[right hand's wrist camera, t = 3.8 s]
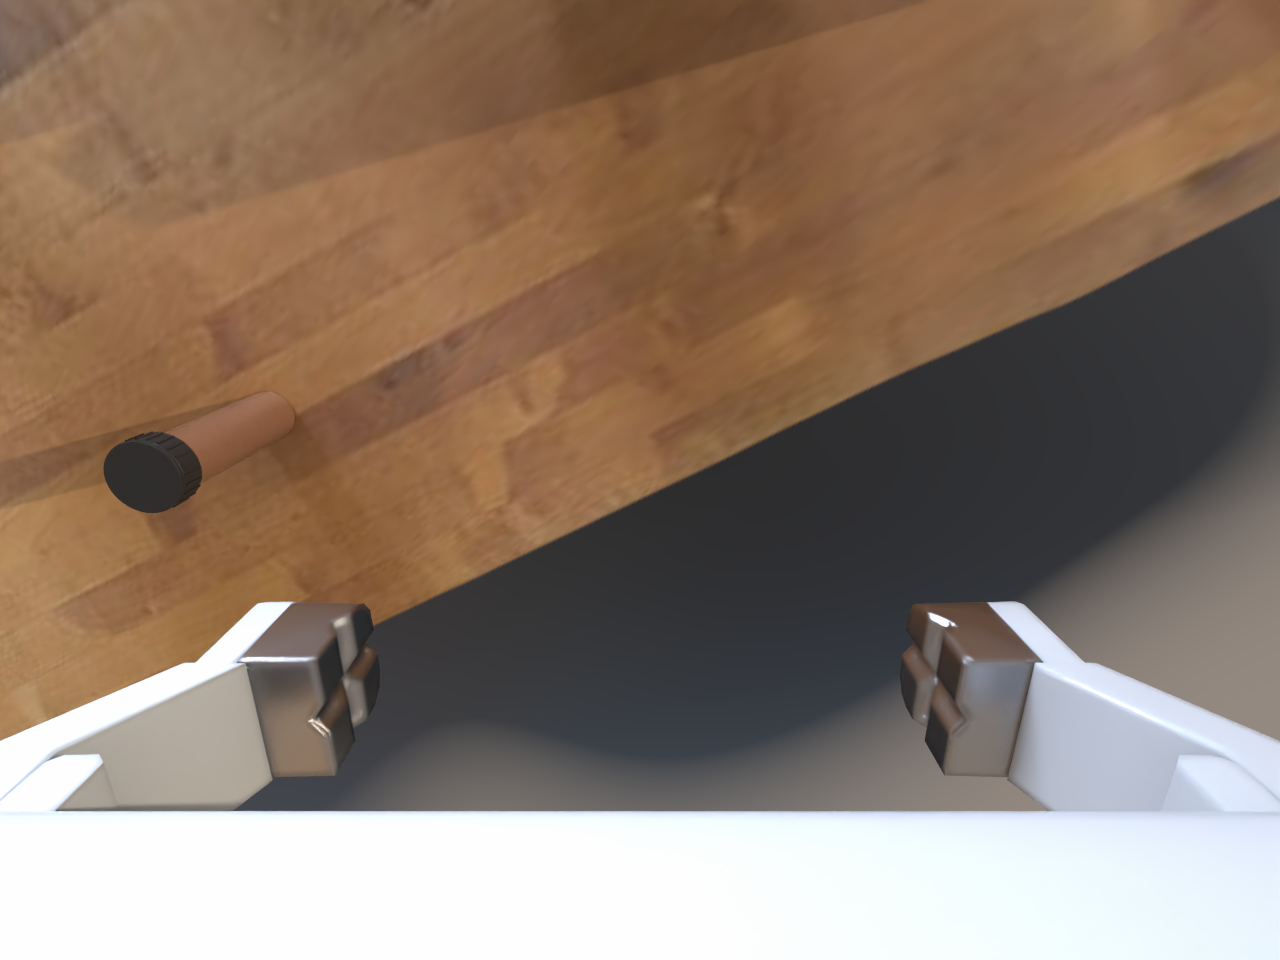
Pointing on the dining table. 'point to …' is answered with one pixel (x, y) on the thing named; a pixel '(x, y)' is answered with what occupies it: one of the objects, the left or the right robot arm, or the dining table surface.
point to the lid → (152, 472)
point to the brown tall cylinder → (236, 431)
